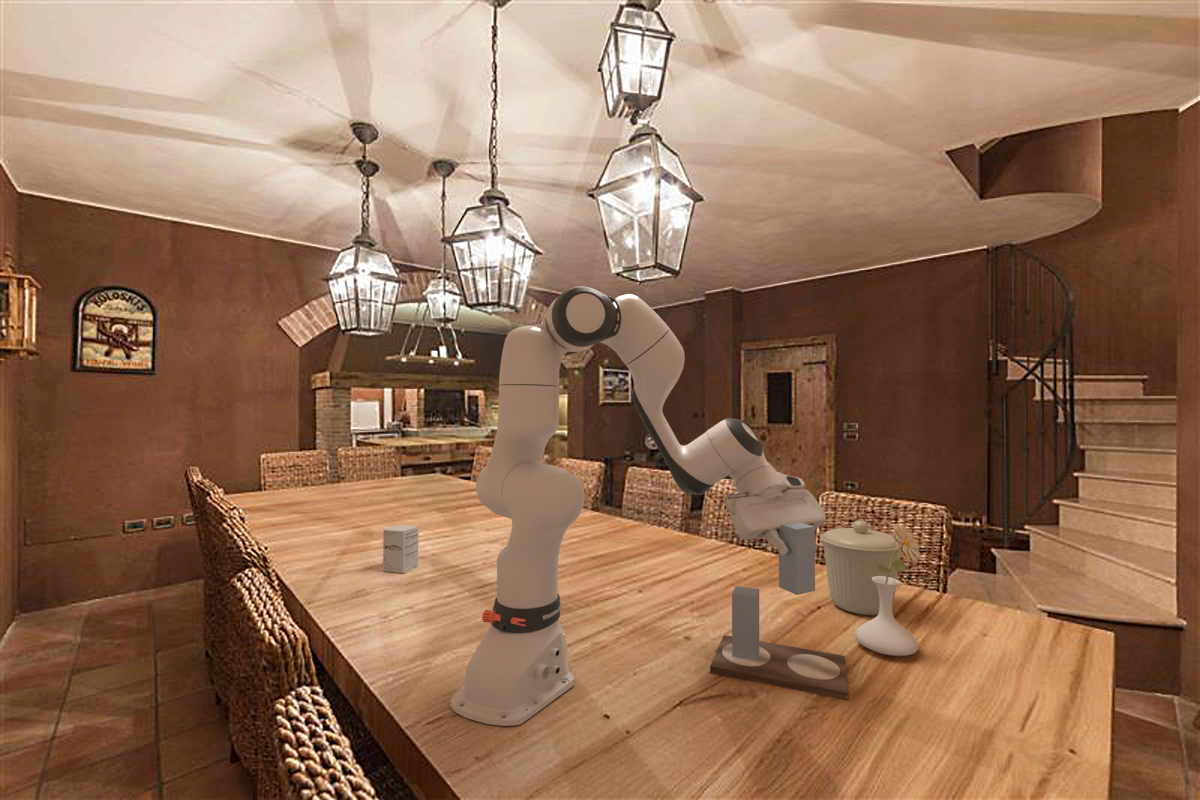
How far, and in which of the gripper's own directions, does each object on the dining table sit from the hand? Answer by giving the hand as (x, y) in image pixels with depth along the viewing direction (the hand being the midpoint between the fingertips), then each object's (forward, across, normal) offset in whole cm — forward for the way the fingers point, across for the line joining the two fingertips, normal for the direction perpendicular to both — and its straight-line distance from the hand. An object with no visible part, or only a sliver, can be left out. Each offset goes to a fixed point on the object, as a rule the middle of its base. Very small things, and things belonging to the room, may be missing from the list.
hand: (799, 551), depth 98 cm
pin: (+10, -7, +19) cm, 23 cm away
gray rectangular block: (+5, 0, +6) cm, 7 cm away
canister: (+5, +36, +27) cm, 45 cm away
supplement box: (-51, -64, +82) cm, 116 cm away
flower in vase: (+17, +23, +15) cm, 32 cm away
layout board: (+14, -3, +17) cm, 22 cm away
